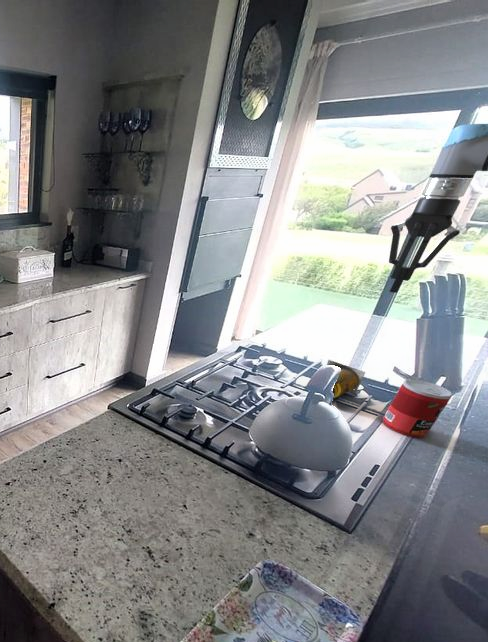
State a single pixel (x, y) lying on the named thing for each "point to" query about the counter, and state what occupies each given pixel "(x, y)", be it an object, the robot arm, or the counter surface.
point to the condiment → (347, 379)
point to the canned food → (416, 407)
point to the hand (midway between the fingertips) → (393, 291)
